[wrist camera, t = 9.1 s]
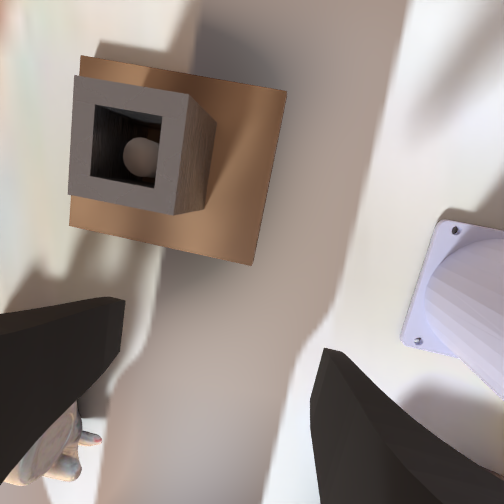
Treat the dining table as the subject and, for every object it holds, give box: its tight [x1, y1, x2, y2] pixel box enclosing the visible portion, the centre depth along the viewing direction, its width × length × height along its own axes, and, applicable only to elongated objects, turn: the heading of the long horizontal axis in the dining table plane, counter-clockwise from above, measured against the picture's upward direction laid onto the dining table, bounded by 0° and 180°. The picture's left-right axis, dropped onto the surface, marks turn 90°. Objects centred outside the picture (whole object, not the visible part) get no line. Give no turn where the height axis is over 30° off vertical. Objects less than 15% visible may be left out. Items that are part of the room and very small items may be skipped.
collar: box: [68, 75, 217, 216], centre depth 15 cm, size 5×5×5 cm
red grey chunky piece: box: [3, 400, 102, 486], centre depth 19 cm, size 11×11×12 cm
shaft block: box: [69, 55, 287, 266], centre depth 17 cm, size 12×10×4 cm
